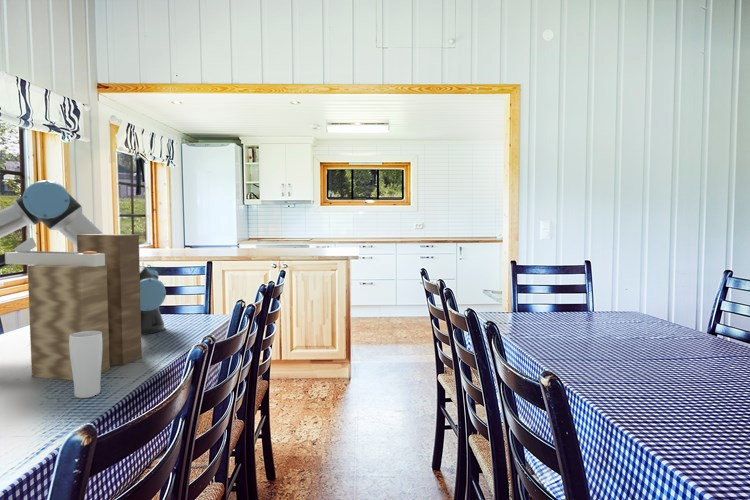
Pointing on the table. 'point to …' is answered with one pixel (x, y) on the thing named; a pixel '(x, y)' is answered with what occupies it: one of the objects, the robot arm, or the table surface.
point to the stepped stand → (86, 305)
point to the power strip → (55, 258)
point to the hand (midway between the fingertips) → (11, 242)
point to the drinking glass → (86, 362)
